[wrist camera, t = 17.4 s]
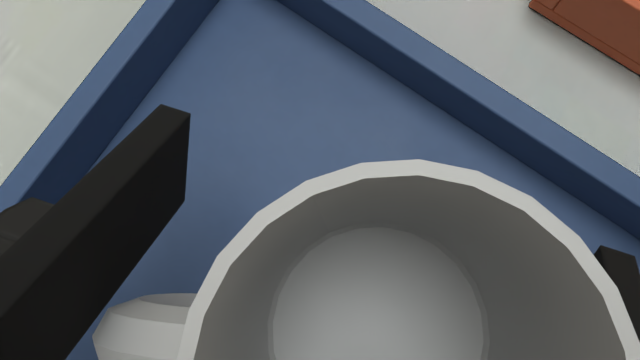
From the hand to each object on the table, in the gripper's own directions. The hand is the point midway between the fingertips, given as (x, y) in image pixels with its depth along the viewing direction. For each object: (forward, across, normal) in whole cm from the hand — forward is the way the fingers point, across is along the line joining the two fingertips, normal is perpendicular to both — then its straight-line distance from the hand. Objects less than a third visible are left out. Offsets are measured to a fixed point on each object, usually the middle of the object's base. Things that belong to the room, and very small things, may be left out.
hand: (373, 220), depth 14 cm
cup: (+1, 0, -6) cm, 6 cm away
